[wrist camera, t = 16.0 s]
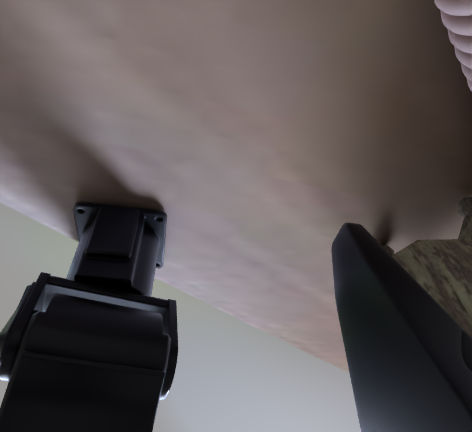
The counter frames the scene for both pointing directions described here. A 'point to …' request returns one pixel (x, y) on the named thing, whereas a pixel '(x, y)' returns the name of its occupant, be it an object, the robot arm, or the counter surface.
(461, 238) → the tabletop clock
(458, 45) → the coil
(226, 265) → the counter surface
